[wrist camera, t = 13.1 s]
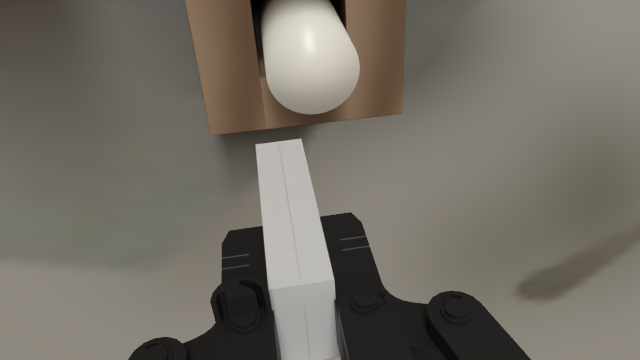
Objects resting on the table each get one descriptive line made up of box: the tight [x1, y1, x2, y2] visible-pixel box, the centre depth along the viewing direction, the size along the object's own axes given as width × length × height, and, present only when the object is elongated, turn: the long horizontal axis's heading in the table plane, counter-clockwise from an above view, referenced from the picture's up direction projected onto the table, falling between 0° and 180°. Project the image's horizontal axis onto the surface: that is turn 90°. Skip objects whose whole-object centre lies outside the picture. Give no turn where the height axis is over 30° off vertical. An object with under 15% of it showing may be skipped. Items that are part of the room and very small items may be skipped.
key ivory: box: [260, 0, 360, 114], centre depth 29 cm, size 4×4×9 cm
